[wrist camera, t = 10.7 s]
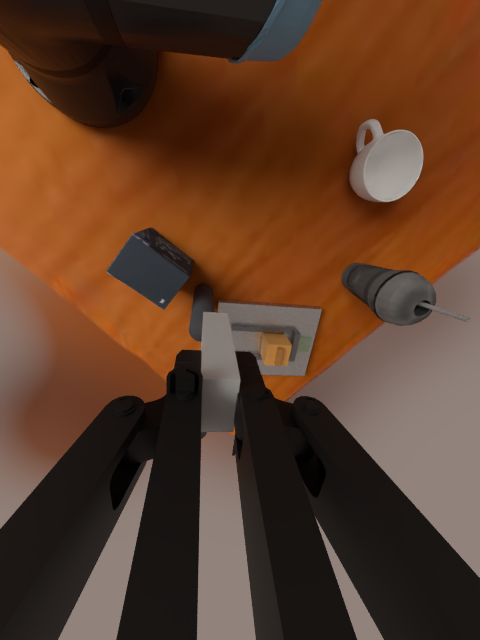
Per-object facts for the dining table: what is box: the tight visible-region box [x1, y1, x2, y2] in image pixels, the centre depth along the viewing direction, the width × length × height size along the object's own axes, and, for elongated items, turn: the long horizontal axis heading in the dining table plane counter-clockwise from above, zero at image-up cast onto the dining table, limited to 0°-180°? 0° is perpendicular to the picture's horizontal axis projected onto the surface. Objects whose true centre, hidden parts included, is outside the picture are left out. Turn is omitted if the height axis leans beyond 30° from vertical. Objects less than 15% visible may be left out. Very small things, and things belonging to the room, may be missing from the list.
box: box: [107, 228, 194, 310], centre depth 34 cm, size 8×6×11 cm
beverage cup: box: [341, 263, 470, 326], centre depth 35 cm, size 7×7×20 cm
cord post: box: [189, 284, 214, 342], centre depth 36 cm, size 3×3×14 cm
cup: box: [349, 119, 423, 202], centre depth 34 cm, size 8×10×7 cm
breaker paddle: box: [260, 333, 292, 366], centre depth 43 cm, size 4×4×5 cm
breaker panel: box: [217, 299, 322, 376], centre depth 46 cm, size 18×14×3 cm
